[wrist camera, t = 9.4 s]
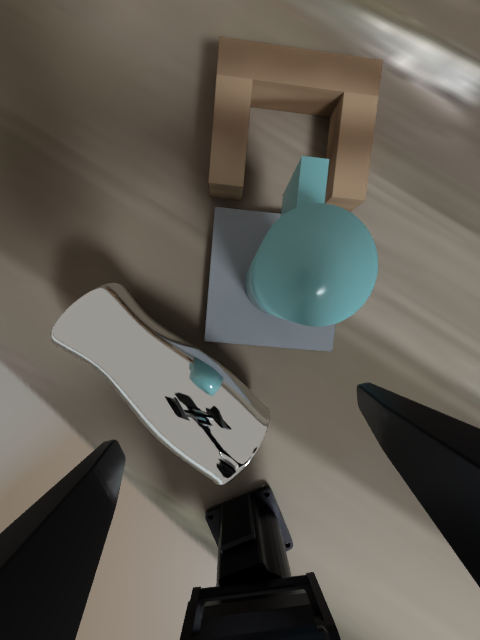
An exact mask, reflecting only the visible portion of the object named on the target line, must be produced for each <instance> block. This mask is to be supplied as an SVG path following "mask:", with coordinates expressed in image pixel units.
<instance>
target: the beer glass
mask: <svg viewBox="0 0 480 640" xmlns="http://www.w3.org/2000/svg"><path fill="white" fill-rule="evenodd" d="M50 338H51V341H52V343H53V344H54V345H56V346H57V347H58V348H60V349H62V350H64V351H65V352H67V353H69V354H71V355H73V356H74V357H76V358H78V359H80V360H82V361H83V362H85V363H86V364H88V365H89V366H91V367H92V368H93V369H95V370H96V371H97V372H98V373H99V374H100V375H101V376H103V377H104V378H105V379H106V380H107V381H108V382H109V384H110V385H111V386H112V387H113V388H114V389H115V391H116V392H117V393H118V394H119V395H120V397H121V398H122V399H123V400H124V402H125V403H126V404H127V405H128V407H129V408H130V409H131V410H132V412H133V413H134V414H135V415H136V416H137V418H138V419H139V420H140V421H141V423H142V424H143V425H144V426H145V427H146V428H147V429H148V430H149V431H150V432H151V433H152V435H153V436H154V437H155V438H156V439H157V440H159V441H160V442H161V443H162V444H163V445H164V446H165V447H166V448H168V449H169V450H170V451H171V452H172V453H174V454H175V455H176V456H178V457H179V458H180V459H181V460H183V461H184V462H186V463H187V464H188V465H190V466H191V467H193V468H194V469H196V470H197V471H199V472H200V473H202V474H203V475H205V476H206V477H208V478H209V479H210V480H212V481H213V482H214V483H215V484H217V485H223V484H226V483H228V482H230V481H231V480H232V479H234V478H235V477H236V476H237V475H238V474H239V473H240V472H241V471H242V470H243V469H244V468H245V467H246V466H247V464H248V463H249V462H250V460H251V459H252V458H253V456H254V455H255V453H256V452H257V450H258V448H259V447H260V445H261V443H262V441H263V439H264V437H265V434H266V432H267V429H268V426H269V421H270V411H269V408H268V407H267V406H265V405H264V404H263V403H262V402H261V401H260V400H259V399H258V398H257V397H256V396H255V395H254V394H253V393H252V392H251V391H250V390H249V388H248V387H247V386H246V385H245V384H244V383H243V382H241V381H240V380H239V379H238V378H237V377H236V376H235V375H234V374H233V373H232V372H231V371H229V370H228V369H227V368H226V367H224V366H223V365H222V364H221V363H220V362H218V361H217V360H215V359H214V358H213V357H211V356H210V355H208V354H207V353H205V352H204V351H202V350H200V349H199V348H197V347H196V346H194V345H192V344H191V343H189V342H187V341H186V340H184V339H182V338H181V337H179V336H177V335H176V334H174V333H172V332H171V331H169V330H168V329H166V328H165V327H163V326H161V325H160V324H159V323H158V322H156V321H155V320H154V319H152V318H151V317H150V316H149V315H148V314H147V313H146V312H145V311H144V310H143V309H142V308H141V306H140V305H139V304H138V303H137V302H136V300H135V299H134V298H133V297H132V295H131V294H130V293H129V292H128V290H127V289H126V288H125V287H124V286H123V285H121V284H119V283H107V284H104V285H101V286H99V287H96V288H94V289H92V290H91V291H89V292H87V293H86V294H84V295H83V296H81V297H80V298H79V299H77V300H76V301H75V302H74V303H73V304H71V305H70V306H69V307H68V308H67V309H66V310H65V311H64V312H63V313H62V315H61V316H60V317H59V318H58V320H57V321H56V323H55V324H54V326H53V328H52V331H51V336H50Z"/></svg>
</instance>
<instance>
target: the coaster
mask: <svg viewBox="0 0 480 640" xmlns="http://www.w3.org/2000/svg"><path fill="white" fill-rule="evenodd" d="M280 217H281V214H278V213H269V212H259V211H250V210H241V209H232V208H223V207H215V215H214V227H213V240H212V252H211V265H210V277H209V290H208V303H207V315H206V328H205V340H204V341H209V342H221V343H234V344H246V345H258V346H270V347H283V348H295V349H307V350H319V351H332V348H333V340H334V332H335V324H332V325H328V326H321V327H312V326H305V325H301V324H298V323H295V322H292V321H288V320H285V319H282V318H279V317H276V316H273V315H270V314H267V313H264V312H262V311H260V310H258V309H257V308H256V307H255V306H254V305H253V304H252V303H251V302H250V300H249V299H248V297H247V294H246V291H245V276H246V273H247V270H248V268H249V266H250V264H251V262H252V261H253V259H254V257H255V255H256V253H257V251H258V249H259V247H260V245H261V243H262V241H263V239H264V237H265V236H266V234H267V232H268V231H269V229H270V228H271V227H272V225H273V224H274V223H275V222H276V221H277V220H278V219H279V218H280Z"/></svg>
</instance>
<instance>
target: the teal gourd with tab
mask: <svg viewBox="0 0 480 640" xmlns="http://www.w3.org/2000/svg"><path fill="white" fill-rule="evenodd" d="M328 167H329V159H324V158H316V157H307V156H302V157H301V159H300V161H299V163H298V165H297V167H296V169H295V171H294V173H293V175H292V177H291V179H290V181H289V183H288V185H287V188H286V190H285V192H284V194H283V201H282V211H281V217H280V218H279V219H278V220H277V221H276V222H275V223H274V224H273V225H272V227H271V228H270V229H269V231H268V232H267V234H266V236H265V237H264V239H263V241H262V243H261V245H260V247H259V249H258V251H257V253H256V255H255V257H254V259H253V261H252V262H251V264H250V266H249V268H248V270H247V273H246V276H245V291H246V294H247V297H248V299H249V300H250V302H251V303H252V304H253V305H254V306H255V307H256V308H257V309H258V310H260V311H262V312H264V313H267V314H270V315H273V316H276V317H279V318H282V319H285V320H288V321H292V322H295V323H298V324H301V325H305V326H312V327H321V326H328V325H332V324H336V323H338V322H341V321H343V320H345V319H347V318H349V317H350V316H351V315H353V314H354V313H355V312H356V311H358V310H359V309H360V308H361V307H362V305H363V304H364V303H365V302H366V300H367V299H368V297H369V296H370V294H371V292H372V290H373V288H374V285H375V281H376V277H377V272H378V255H377V250H376V246H375V243H374V240H373V238H372V236H371V234H370V232H369V231H368V229H367V228H366V226H365V225H364V224H363V223H362V222H361V220H359V219H358V218H357V217H356V216H355V215H353V214H352V213H350V212H349V211H347V210H345V209H343V208H341V207H338V206H335V205H331V204H325V203H324V202H325V193H326V185H327V176H328Z"/></svg>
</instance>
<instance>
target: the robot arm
mask: <svg viewBox="0 0 480 640" xmlns="http://www.w3.org/2000/svg"><path fill="white" fill-rule="evenodd" d="M357 400H358V406H359V409H360V411H361V412H362V414H363V416H364V418H365V420H366V421H367V423H368V425H369V427H370V428H371V430H372V432H373V434H374V436H375V437H376V439H377V441H378V443H379V444H380V446H381V448H382V449H383V451H384V452H385V454H386V455H387V457H388V458H389V460H390V461H391V462H392V464H393V465H394V467H395V468H396V469H397V471H398V472H399V474H400V475H401V477H402V478H403V479H404V481H405V482H406V484H407V485H408V486H409V488H410V489H411V491H412V492H413V494H414V495H415V496H416V498H417V499H418V501H419V502H420V504H421V505H422V506H423V508H424V509H425V511H426V512H427V513H428V515H429V516H430V518H431V519H432V521H433V522H434V523H435V525H436V526H437V528H438V529H439V530H440V532H441V533H442V535H443V536H444V538H445V539H446V540H447V542H448V543H449V545H450V546H451V547H452V549H453V550H454V552H455V553H456V555H457V556H458V557H459V559H460V560H461V562H462V563H463V564H464V566H465V567H466V569H467V570H468V572H469V573H470V574H471V576H472V577H473V579H474V580H475V582H476V583H477V584H478V586H479V587H480V429H479V428H477V427H475V426H472V425H470V424H467V423H465V422H463V421H460V420H458V419H455V418H453V417H451V416H448V415H446V414H444V413H441V412H439V411H436V410H434V409H432V408H429V407H427V406H424V405H422V404H420V403H417V402H415V401H412V400H410V399H408V398H405V397H403V396H400V395H398V394H396V393H393V392H391V391H389V390H386V389H384V388H381V387H379V386H377V385H374V384H372V383H369V382H367V383H363V384H359V385H357ZM124 466H125V455H124V453H123V451H122V449H121V447H120V445H119V443H118V441H117V440H110V441H106V442H103V443H102V444H101V445H100V446H99V447H98V448H96V449H95V450H94V451H93V452H92V453H91V454H90V455H89V456H87V457H86V458H85V459H84V460H83V461H82V462H81V463H80V464H78V465H77V466H76V467H75V468H74V469H73V470H72V471H70V472H69V473H68V474H67V475H66V476H65V477H64V478H63V479H61V480H60V481H59V482H58V483H57V484H56V485H55V486H53V487H52V488H51V489H50V490H49V491H48V492H47V493H45V494H44V495H43V496H42V497H41V498H40V499H39V500H38V501H37V502H35V504H33V505H32V506H31V507H30V508H29V509H28V510H26V511H25V512H24V513H23V514H22V515H21V516H20V517H18V518H17V519H16V520H15V521H14V522H13V523H12V524H10V525H9V526H8V527H7V528H6V529H5V530H4V531H3V532H2V533H1V534H0V640H75V638H76V635H77V632H78V628H79V625H80V622H81V619H82V615H83V612H84V609H85V606H86V603H87V599H88V596H89V592H90V590H91V586H92V583H93V580H94V576H95V573H96V570H97V566H98V564H99V560H100V557H101V554H102V551H103V547H104V544H105V541H106V538H107V534H108V531H109V528H110V525H111V521H112V518H113V515H114V511H115V507H116V503H117V499H118V494H119V490H120V485H121V480H122V476H123V471H124ZM265 492H269V493H267V494H265ZM210 515H213V516H210ZM205 518H206V521H207V523H208V525H209V528H210V530H211V532H212V534H213V537H214V539H215V541H216V544H217V546H218V562H217V584H216V587H209V588H201V587H195V588H193V590H192V595H191V599H190V601H189V602H188V606H187V610H186V615H185V619H184V623H183V628H182V632H181V636H180V640H341V639H340V636H339V633H338V630H337V628H336V625H335V623H334V620H333V618H332V615H331V613H330V610H329V608H328V606H327V603H326V601H325V598H324V596H323V593H322V591H321V589H320V586H319V584H318V581H317V579H316V577H315V574H314V572H310V573H306V575H301V576H293V577H292V576H291V572H290V567H289V563H288V558H287V554H286V551H288V550H290V549H292V547H293V542H292V539H291V536H290V534H289V531H288V529H287V526H286V524H285V522H284V519H283V517H282V514H281V512H280V509H279V507H278V504H277V502H276V500H275V497H274V495H273V492H272V490H271V488H270V487H268V486H265V487H262V488H259V489H257V490H254V491H252V492H250V493H247V494H245V495H242V496H240V497H237V498H235V499H232V500H230V501H227V502H225V503H222V504H220V505H217V506H215V507H212V508H210V509H208V510H207V511H206V516H205ZM286 543H287V544H286Z"/></svg>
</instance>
